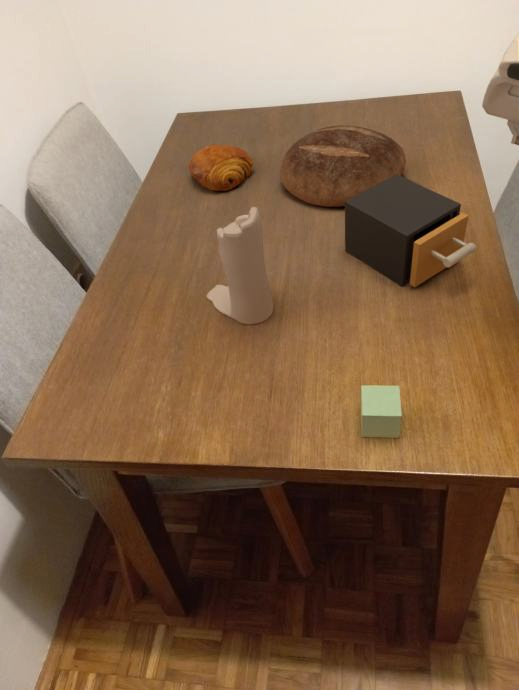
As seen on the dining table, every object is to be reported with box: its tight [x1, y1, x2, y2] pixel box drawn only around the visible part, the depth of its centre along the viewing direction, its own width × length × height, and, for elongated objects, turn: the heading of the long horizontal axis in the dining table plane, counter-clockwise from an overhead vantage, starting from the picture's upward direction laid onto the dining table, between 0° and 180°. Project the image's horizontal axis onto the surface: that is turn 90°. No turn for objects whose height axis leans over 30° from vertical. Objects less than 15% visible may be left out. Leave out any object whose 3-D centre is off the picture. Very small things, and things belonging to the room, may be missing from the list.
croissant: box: [187, 143, 254, 192], centre depth 123 cm, size 14×16×8 cm
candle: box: [206, 206, 274, 326], centre depth 86 cm, size 7×14×20 cm, turn 50°
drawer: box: [406, 212, 477, 288], centre depth 90 cm, size 18×11×9 cm, turn 36°
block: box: [360, 384, 403, 439], centre depth 71 cm, size 5×5×5 cm
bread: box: [279, 125, 407, 208], centre depth 114 cm, size 26×27×10 cm
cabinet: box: [344, 174, 462, 288], centre depth 93 cm, size 15×13×11 cm
